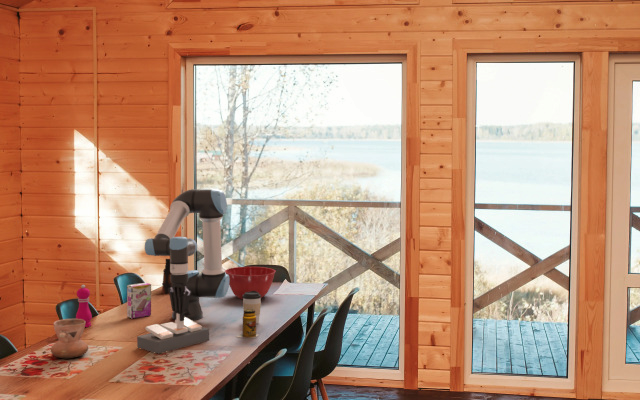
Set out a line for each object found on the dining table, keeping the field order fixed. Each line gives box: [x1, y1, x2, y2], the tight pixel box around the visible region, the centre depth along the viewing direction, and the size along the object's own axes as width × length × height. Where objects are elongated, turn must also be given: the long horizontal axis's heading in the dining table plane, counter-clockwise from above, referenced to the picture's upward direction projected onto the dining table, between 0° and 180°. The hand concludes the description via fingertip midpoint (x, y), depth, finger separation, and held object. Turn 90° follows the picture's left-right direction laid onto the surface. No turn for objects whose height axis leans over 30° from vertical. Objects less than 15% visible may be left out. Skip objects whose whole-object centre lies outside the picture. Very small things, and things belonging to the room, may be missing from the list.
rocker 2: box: [159, 321, 188, 334], centre depth 314 cm, size 11×6×2 cm, turn 51°
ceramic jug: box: [50, 318, 89, 359], centre depth 297 cm, size 18×14×14 cm
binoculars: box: [161, 258, 172, 295], centre depth 430 cm, size 18×8×20 cm, turn 171°
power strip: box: [136, 326, 210, 355], centre depth 316 cm, size 14×31×6 cm, turn 141°
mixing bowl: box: [225, 266, 276, 300], centre depth 412 cm, size 28×28×16 cm
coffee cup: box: [242, 291, 262, 325], centre depth 353 cm, size 9×9×15 cm
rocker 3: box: [174, 317, 203, 332], centre depth 321 cm, size 11×6×2 cm, turn 51°
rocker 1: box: [144, 323, 173, 340], centre depth 308 cm, size 11×6×2 cm, turn 51°
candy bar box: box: [126, 282, 152, 320], centre depth 365 cm, size 11×5×16 cm, turn 135°
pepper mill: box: [75, 284, 93, 329], centre depth 344 cm, size 7×7×20 cm
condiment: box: [236, 309, 260, 339], centre depth 328 cm, size 7×8×12 cm
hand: (180, 328), depth 312 cm, fingers closed
